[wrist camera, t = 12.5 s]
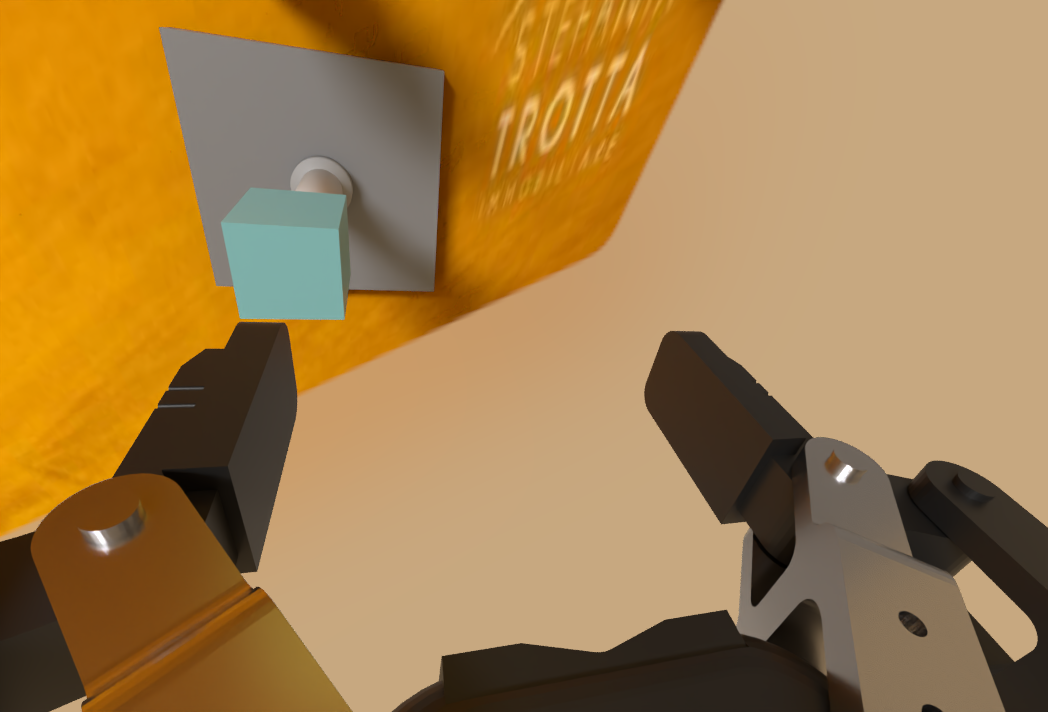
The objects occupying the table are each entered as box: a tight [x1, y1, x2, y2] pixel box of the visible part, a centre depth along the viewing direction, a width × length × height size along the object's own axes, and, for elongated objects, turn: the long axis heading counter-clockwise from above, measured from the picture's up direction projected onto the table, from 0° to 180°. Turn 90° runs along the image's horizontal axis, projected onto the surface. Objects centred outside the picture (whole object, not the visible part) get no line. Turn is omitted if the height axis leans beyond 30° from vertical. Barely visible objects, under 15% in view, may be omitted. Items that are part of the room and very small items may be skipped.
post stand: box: [159, 27, 444, 292], centre depth 32 cm, size 18×18×18 cm
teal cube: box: [221, 188, 351, 320], centre depth 26 cm, size 5×5×6 cm
